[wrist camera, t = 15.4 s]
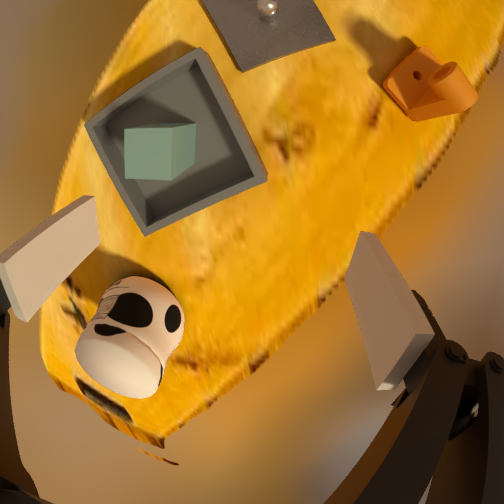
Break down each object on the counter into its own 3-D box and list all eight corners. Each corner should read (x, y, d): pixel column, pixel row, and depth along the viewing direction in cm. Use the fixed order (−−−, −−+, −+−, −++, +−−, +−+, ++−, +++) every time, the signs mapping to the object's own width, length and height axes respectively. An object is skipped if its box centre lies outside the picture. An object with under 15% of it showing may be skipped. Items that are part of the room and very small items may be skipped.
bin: (208, 54, 31) (200, 46, 27) (267, 173, 39) (266, 181, 35) (101, 121, 36) (84, 125, 32) (156, 223, 45) (144, 236, 40)
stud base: (290, -30, 23) (293, -47, 18) (334, 41, 29) (344, 30, 24) (202, 1, 27) (192, -13, 22) (242, 72, 33) (237, 66, 27)
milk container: (177, 345, 59) (154, 412, 43) (108, 314, 56) (72, 372, 40) (200, 292, 51) (173, 368, 35) (117, 254, 48) (66, 315, 32)
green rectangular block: (157, 122, 36) (124, 129, 27) (196, 123, 36) (172, 127, 27) (156, 161, 39) (125, 178, 30) (194, 163, 38) (171, 180, 30)
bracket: (416, 46, 27) (459, 33, 17) (445, 81, 29) (492, 80, 18) (378, 84, 32) (415, 78, 21) (409, 120, 33) (453, 128, 23)
